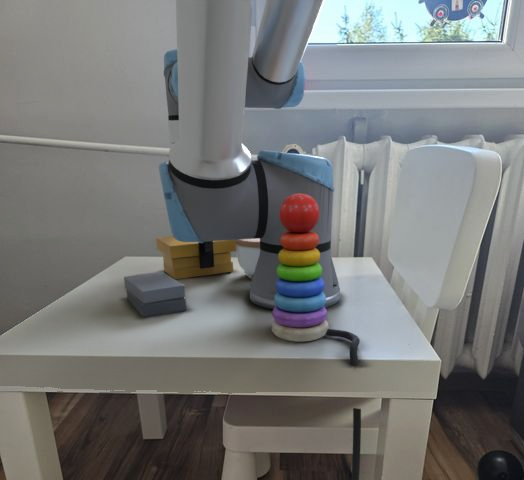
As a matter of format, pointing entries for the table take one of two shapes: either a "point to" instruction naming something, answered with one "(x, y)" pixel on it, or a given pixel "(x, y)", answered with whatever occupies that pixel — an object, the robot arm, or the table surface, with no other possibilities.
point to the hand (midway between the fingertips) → (197, 262)
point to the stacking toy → (299, 274)
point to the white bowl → (248, 254)
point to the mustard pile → (196, 266)
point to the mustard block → (190, 247)
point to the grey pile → (155, 294)
